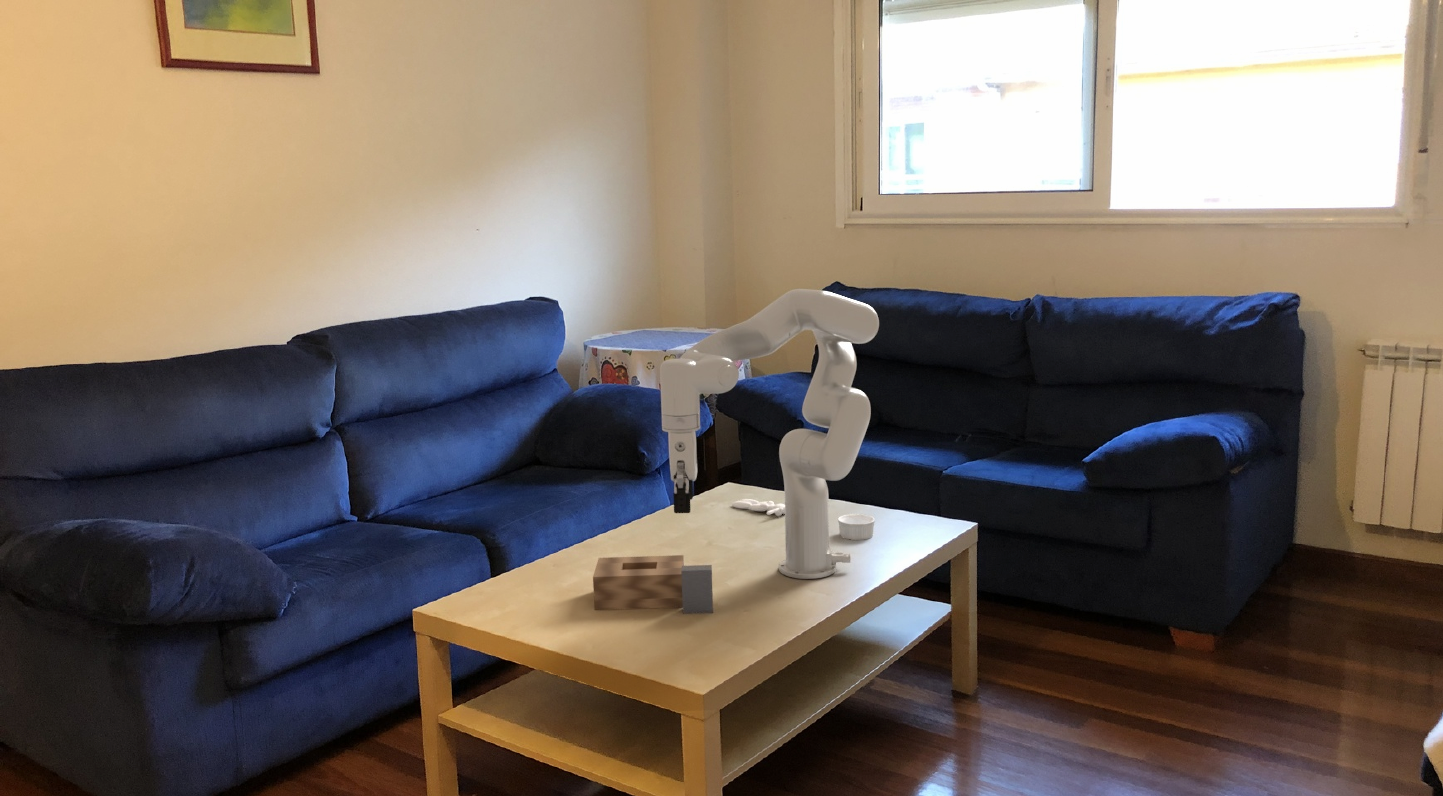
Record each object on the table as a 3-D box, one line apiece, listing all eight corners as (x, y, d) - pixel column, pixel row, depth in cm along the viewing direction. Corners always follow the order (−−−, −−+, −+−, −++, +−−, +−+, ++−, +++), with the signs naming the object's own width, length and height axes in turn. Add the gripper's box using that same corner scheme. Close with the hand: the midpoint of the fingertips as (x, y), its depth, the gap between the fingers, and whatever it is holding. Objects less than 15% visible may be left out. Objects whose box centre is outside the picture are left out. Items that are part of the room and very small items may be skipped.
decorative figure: (719, 504, 291) (770, 508, 279) (749, 494, 300) (800, 498, 287) (721, 517, 292) (772, 521, 279) (751, 507, 300) (802, 511, 288)
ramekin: (840, 529, 271) (839, 512, 271) (876, 531, 270) (876, 514, 269) (836, 540, 263) (836, 523, 262) (873, 542, 261) (873, 524, 260)
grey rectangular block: (712, 607, 222) (711, 564, 221) (713, 612, 219) (711, 569, 218) (683, 608, 222) (681, 565, 221) (682, 613, 219) (681, 570, 218)
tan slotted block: (684, 586, 235) (683, 555, 233) (683, 607, 223) (682, 574, 221) (600, 589, 234) (598, 557, 233) (594, 609, 223) (592, 577, 221)
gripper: (698, 430, 207) (700, 517, 210) (701, 413, 224) (704, 494, 227) (658, 431, 207) (661, 518, 211) (665, 413, 225) (667, 494, 228)
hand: (683, 505), depth 219 cm, fingers open, 9 cm apart
